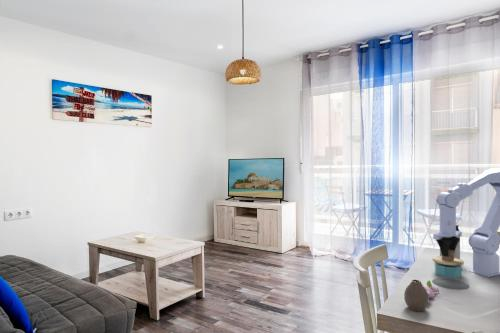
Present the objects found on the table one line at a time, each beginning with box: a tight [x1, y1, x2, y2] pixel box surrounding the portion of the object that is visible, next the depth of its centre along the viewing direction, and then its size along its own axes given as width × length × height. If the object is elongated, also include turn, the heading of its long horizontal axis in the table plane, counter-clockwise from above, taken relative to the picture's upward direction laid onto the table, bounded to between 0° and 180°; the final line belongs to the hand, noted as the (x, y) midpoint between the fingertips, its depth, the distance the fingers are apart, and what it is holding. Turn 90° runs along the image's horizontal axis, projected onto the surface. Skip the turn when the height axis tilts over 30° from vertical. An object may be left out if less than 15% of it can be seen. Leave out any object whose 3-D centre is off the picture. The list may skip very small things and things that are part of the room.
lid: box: [432, 249, 465, 266], centre depth 139 cm, size 11×11×5 cm
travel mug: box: [439, 222, 461, 259], centre depth 156 cm, size 8×8×18 cm
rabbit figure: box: [424, 279, 441, 299], centre depth 116 cm, size 6×6×15 cm
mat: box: [431, 277, 470, 291], centre depth 127 cm, size 12×12×1 cm
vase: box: [403, 279, 430, 312], centre depth 107 cm, size 7×7×9 cm
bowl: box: [434, 262, 463, 279], centre depth 139 cm, size 9×9×4 cm
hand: (447, 255), depth 139 cm, fingers closed on lid, 3 cm apart
